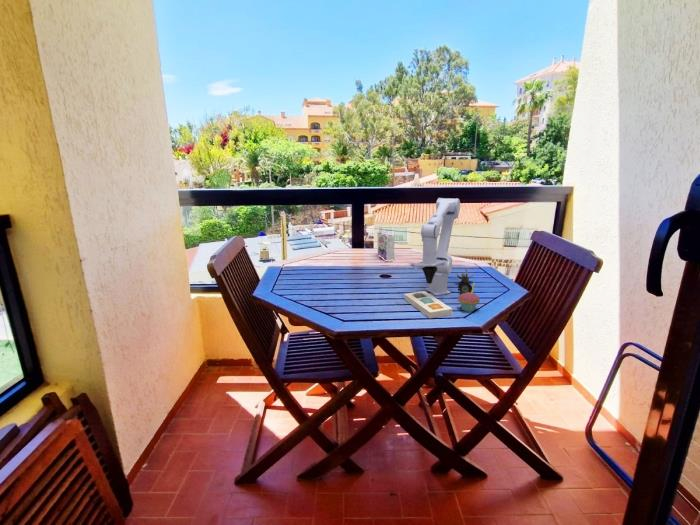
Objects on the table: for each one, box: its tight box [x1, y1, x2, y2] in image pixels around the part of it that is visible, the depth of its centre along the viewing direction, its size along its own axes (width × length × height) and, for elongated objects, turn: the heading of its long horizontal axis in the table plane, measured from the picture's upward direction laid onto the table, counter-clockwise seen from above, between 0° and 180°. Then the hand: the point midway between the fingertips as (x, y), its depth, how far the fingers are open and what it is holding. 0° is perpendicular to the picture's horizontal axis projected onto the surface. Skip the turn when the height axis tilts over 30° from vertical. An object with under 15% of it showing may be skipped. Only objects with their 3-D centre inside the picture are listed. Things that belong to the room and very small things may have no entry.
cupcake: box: [457, 281, 480, 312], centre depth 160 cm, size 9×8×12 cm
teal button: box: [422, 298, 432, 304], centre depth 165 cm, size 4×4×3 cm
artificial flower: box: [454, 268, 474, 295], centre depth 186 cm, size 9×22×10 cm, turn 158°
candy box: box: [377, 230, 395, 260], centre depth 242 cm, size 14×6×16 cm, turn 17°
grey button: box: [414, 293, 424, 298], centre depth 172 cm, size 4×4×3 cm
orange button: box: [430, 304, 441, 310], centre depth 159 cm, size 4×4×3 cm
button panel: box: [403, 290, 453, 319], centre depth 165 cm, size 23×10×2 cm, turn 18°
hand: (429, 282), depth 169 cm, fingers closed
